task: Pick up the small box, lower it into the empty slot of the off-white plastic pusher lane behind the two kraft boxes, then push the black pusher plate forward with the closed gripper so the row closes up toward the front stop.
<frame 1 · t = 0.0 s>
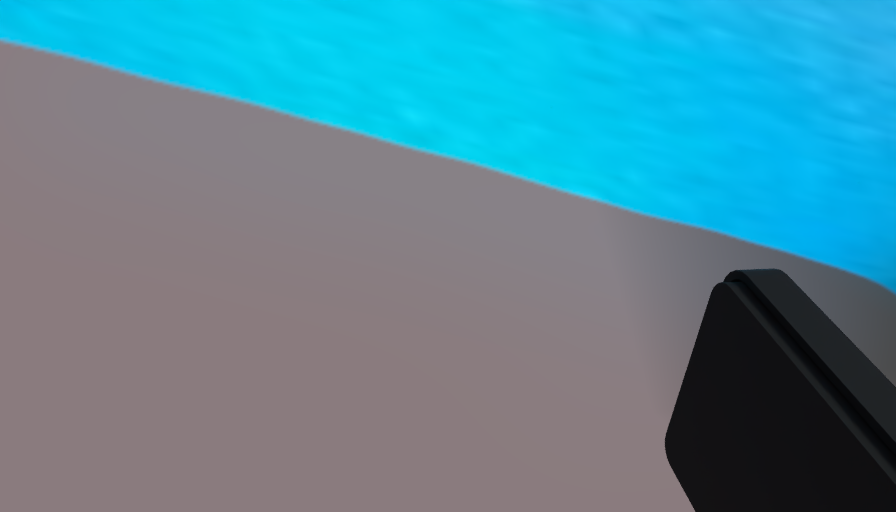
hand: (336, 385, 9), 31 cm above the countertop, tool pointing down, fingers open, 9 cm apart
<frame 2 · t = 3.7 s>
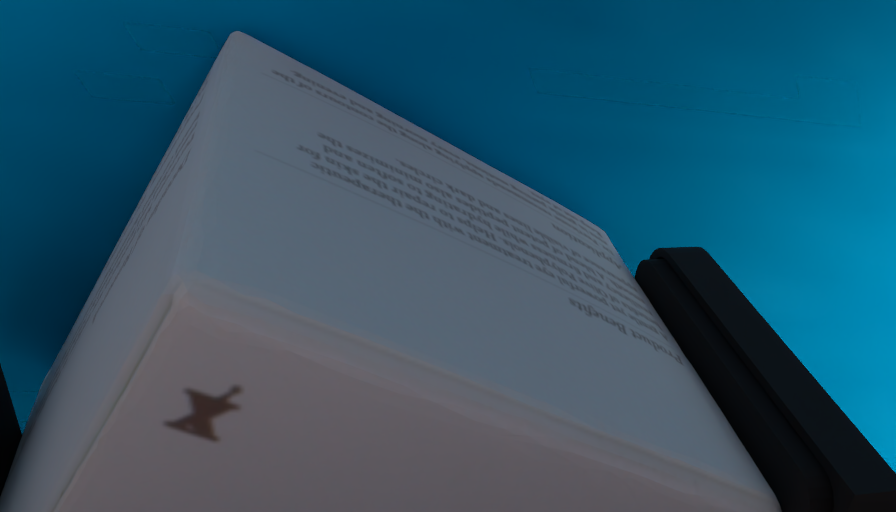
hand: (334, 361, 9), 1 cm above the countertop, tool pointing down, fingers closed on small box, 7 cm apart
small box: (329, 292, 11), on the countertop, touching gripper
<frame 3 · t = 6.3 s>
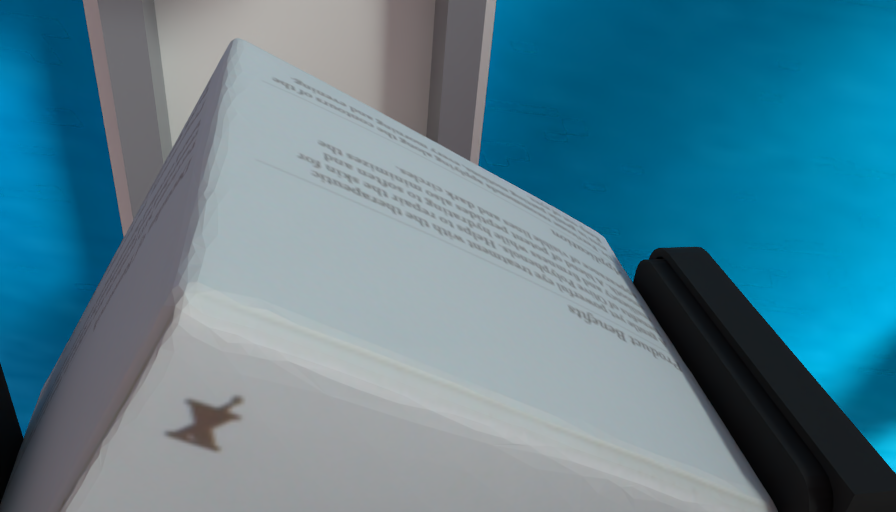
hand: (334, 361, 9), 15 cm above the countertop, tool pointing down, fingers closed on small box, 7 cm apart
lane: (303, 196, 25), on the countertop
small box: (329, 297, 11), point 14 cm above the countertop, touching gripper
when the fingers open (4 cm above the countertop, at t = 9.0 s): small box stays where it is, resting on lane.
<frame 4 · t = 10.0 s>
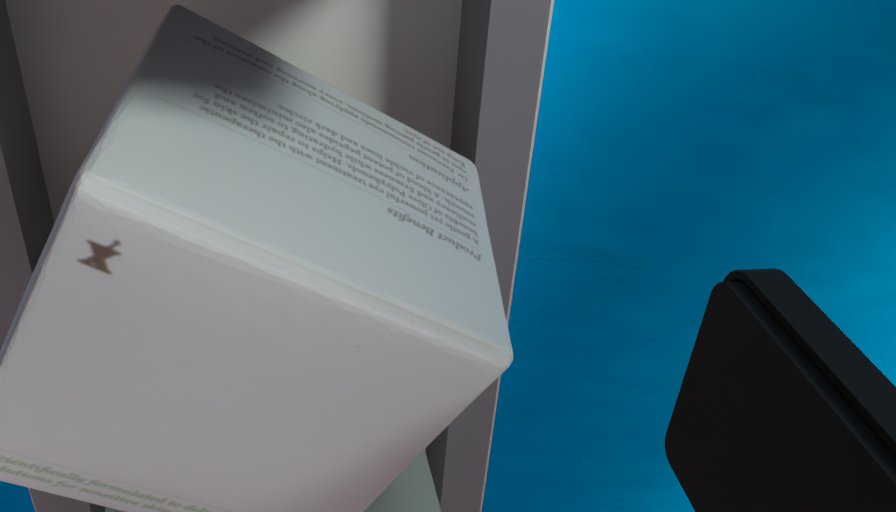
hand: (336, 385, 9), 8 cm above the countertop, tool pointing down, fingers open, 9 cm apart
lane: (270, 378, 19), on the countertop
sage box: (275, 468, 19), point 1 cm above the countertop, touching lane
small box: (265, 199, 14), point 2 cm above the countertop, touching lane
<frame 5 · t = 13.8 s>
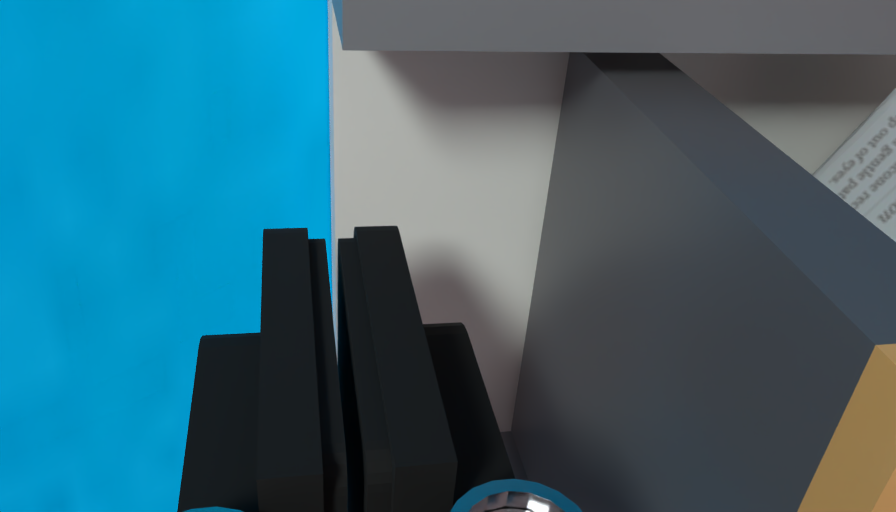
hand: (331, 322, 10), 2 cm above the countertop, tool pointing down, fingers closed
pusher: (655, 419, 9), point 5 cm above the countertop, slide at 1.5 cm, touching gripper, small box
small box: (838, 265, 12), point 2 cm above the countertop, touching lane, pusher
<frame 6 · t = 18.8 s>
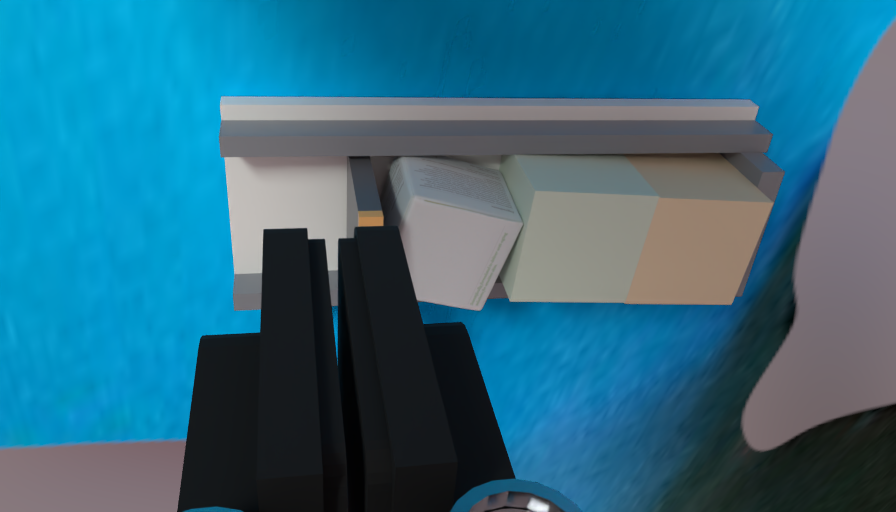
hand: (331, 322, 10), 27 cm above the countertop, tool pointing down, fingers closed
pusher: (362, 245, 36), point 5 cm above the countertop, slide at 4.2 cm
kraft box: (652, 200, 42), point 1 cm above the countertop, touching lane, sage box
lane: (491, 195, 41), on the countertop
sage box: (548, 194, 41), point 1 cm above the countertop, touching kraft box, lane, small box
small box: (432, 200, 40), point 1 cm above the countertop, touching lane, sage box
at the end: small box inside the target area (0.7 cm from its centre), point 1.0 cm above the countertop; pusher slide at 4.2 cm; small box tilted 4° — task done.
